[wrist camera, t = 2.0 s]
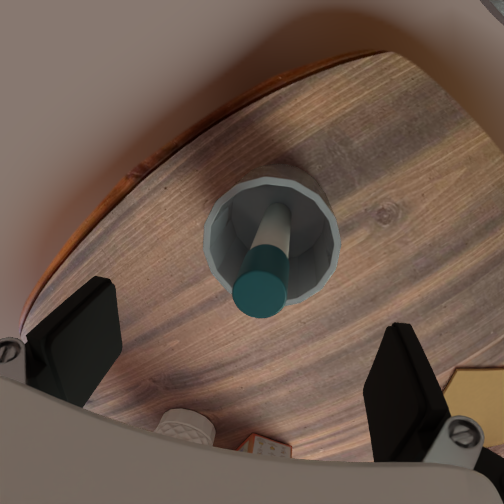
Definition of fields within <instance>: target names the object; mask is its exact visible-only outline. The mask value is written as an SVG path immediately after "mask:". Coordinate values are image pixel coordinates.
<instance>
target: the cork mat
mask: <svg viewBox="0 0 504 504" xmlns="http://www.w3.org/2000/svg"><path fill="white" fill-rule="evenodd" d="M443 395H444V397H445V400H446V402H447V405H448V407H449V411H450V414H451V416H456V415H462V416H467V417H469V418H472V419H473V420H475V421H476V422H477V423H478V424H479V425H480V426H481V428H482V430H483V432H484V437H485V439H484V444H483V446H484V447H491V446H496V445H501V444H504V368H485V369H456V370H455V372H454V374H453V376H452V378H451V379H450V381H449V383H448V385H447V386H446V388H445V390H444V391H443Z"/></svg>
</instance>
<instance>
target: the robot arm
mask: <svg viewBox="0 0 504 504" xmlns="http://www.w3.org/2000/svg"><path fill="white" fill-rule="evenodd" d="M26 337H27V340H28V342H27V343H26V344H24V343H23V342H22V341H21V340H19V339H18V338H13V337H8V338H3V339H0V504H504V458H502V457H501V456H499V455H497V454H495V453H494V452H492V451H490V450H489V449H487V448H485V447H484V446H483V444H484V439H485V437H484V432H483V430H482V428H481V426H480V425H479V424H478V423H477V422H476V421H475V420H473V419H472V418H469V417H467V416H462V415H456V416H451V414H450V411H449V407H448V405H447V402H446V400H445V397H444V395H443V393H442V390H441V388H440V386H439V383H438V381H437V379H436V377H435V374H434V372H433V370H432V368H431V366H430V363H429V361H428V359H427V357H426V355H425V353H424V351H423V348H422V346H421V344H420V342H419V340H418V338H417V336H416V334H415V332H414V330H413V328H412V326H411V325H410V324H406V323H396V322H395V323H393V324H392V326H388V327H387V328H386V331H385V333H384V336H383V339H382V342H381V344H380V347H379V350H378V352H377V355H376V357H375V360H374V362H373V365H372V367H371V370H370V372H369V375H368V377H367V379H366V382H365V384H364V388H363V396H364V402H365V407H366V413H367V419H368V425H369V431H370V437H371V444H372V450H373V457H374V462H339V461H319V460H305V459H294V458H284V457H275V456H268V455H260V454H253V453H247V452H241V451H235V450H229V449H224V448H218V447H213V446H208V445H204V444H199V443H195V442H190V441H186V440H182V439H178V438H174V437H170V436H166V435H162V434H159V433H155V432H152V431H148V430H145V429H141V428H138V427H135V426H132V425H128V424H125V423H122V422H119V421H116V420H113V419H110V418H107V417H105V416H102V415H99V414H96V413H94V412H91V411H88V410H86V409H83V406H84V405H85V403H86V402H87V401H88V399H89V398H90V396H91V395H92V393H93V392H94V390H95V389H96V388H97V386H98V385H99V383H100V382H101V380H102V379H103V378H104V376H105V375H106V373H107V372H108V370H109V369H110V368H111V366H112V365H113V363H114V362H115V361H116V359H117V358H118V356H119V355H120V353H121V351H122V338H121V331H120V324H119V316H118V307H117V298H116V288H115V285H114V284H112V282H111V280H110V279H108V278H103V277H98V276H94V277H93V278H91V279H90V280H89V281H88V282H87V283H85V284H84V285H83V286H82V287H81V288H79V289H78V290H77V291H76V292H75V293H73V294H72V295H71V296H70V297H69V298H68V299H66V300H65V301H64V302H63V303H62V304H61V305H59V306H58V307H57V308H56V309H55V310H54V311H53V312H51V313H50V314H49V315H48V316H47V317H46V318H45V319H43V320H42V321H41V322H40V323H39V324H38V325H37V326H36V327H35V328H33V329H32V330H31V331H30V332H29V333H28V334H27V335H26Z"/></svg>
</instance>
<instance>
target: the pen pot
mask: <svg viewBox="0 0 504 504" xmlns="http://www.w3.org/2000/svg"><path fill="white" fill-rule="evenodd" d="M274 203H281V204H284V205H285V206H287V207H288V208H289V210H290V212H291V216H292V217H291V230H290V242H289V254H288V260H289V280H288V292H287V300H286V303H285V305H284V306H287V305H292V304H297V303H301V302H302V301H304V300H306V299H307V298H309V297H310V296H312V295H314V294H315V293H317V292H318V291H320V290H321V289H322V288H323V287H324V285H325V284H326V282H327V281H328V280H329V278H330V277H331V275H332V274H333V273H334V271H335V270H336V267H337V263H338V258H339V253H340V248H341V239H340V235H339V230H338V225H337V221H336V217H335V215H334V212H333V210H332V208H331V205H330V203H329V200H328V198H327V196H326V194H325V192H324V191H323V189H322V188H321V187H320V185H319V184H318V183H317V181H316V180H315V179H314V178H313V177H312V176H310V175H309V174H308V173H306V172H305V171H303V170H301V169H299V168H297V167H294V166H290V165H285V164H270V165H265V166H262V167H259V168H256V169H253V170H252V171H250V172H249V173H248V174H247V175H245V176H244V177H243V178H242V179H240V180H239V181H238V182H237V183H236V184H234V185H233V186H232V187H231V188H230V189H229V190H228V191H227V192H226V193H224V194H223V195H222V196H221V197H220V198H219V199H218V200H217V201H216V202H215V204H214V206H213V208H212V210H211V212H210V214H209V216H208V218H207V220H206V222H205V225H204V238H203V251H204V254H205V257H206V260H207V262H208V265H209V268H210V270H211V273H212V274H213V276H214V277H215V278H216V279H217V280H218V281H219V282H220V283H221V285H222V286H223V287H224V288H225V289H226V290H227V291H228V292H229V293H231V294H232V288H233V284H234V282H235V279H236V277H237V275H238V272H239V270H240V267H241V265H242V262H243V260H244V258H245V256H246V254H247V252H248V251H249V250H250V248H251V246H252V243H253V241H254V238H255V236H256V233H257V231H258V228H259V225H260V223H261V220H262V218H263V215H264V213H265V211H266V209H267V208H268V207H269V206H270V205H272V204H274Z"/></svg>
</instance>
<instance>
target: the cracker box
mask: <svg viewBox="0 0 504 504" xmlns="http://www.w3.org/2000/svg"><path fill="white" fill-rule="evenodd" d="M235 451H241V452H247V453H253V454H260V455H268V456H275V457H284V458H292V446H289V445H286V444H283V443H280V442H277V441H274V440H271V439H268V438H266V437H263V436H260V435H257V434H255V433H252V434H251V435H250V436H249V437H248V438H247V439H246V440H245V441H244V442H243V443H242V444H241V445H240V446H239V447H238V448H237V449H236V450H235Z"/></svg>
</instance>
